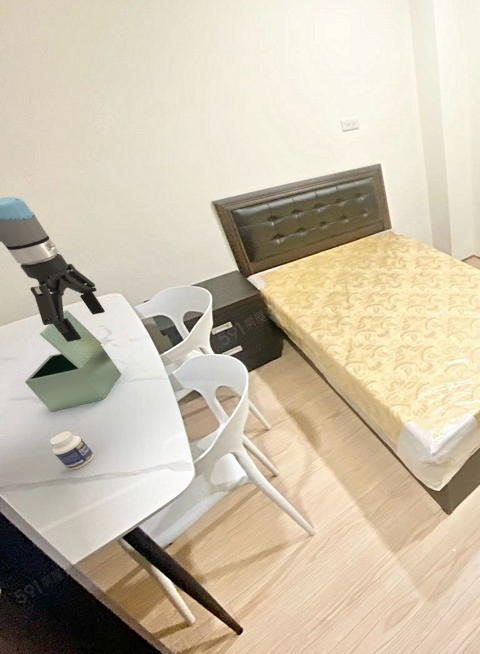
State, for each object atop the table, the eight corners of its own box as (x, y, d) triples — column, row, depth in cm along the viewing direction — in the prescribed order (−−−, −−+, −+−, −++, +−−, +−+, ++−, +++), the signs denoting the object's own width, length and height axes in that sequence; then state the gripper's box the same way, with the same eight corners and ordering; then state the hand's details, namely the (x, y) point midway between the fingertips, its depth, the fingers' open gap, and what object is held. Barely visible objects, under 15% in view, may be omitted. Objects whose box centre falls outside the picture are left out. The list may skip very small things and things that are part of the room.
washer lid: (39, 334, 112) (42, 333, 113) (64, 310, 123) (67, 309, 123) (78, 369, 120) (81, 368, 120) (99, 344, 131) (101, 343, 131)
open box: (50, 411, 123) (24, 381, 117) (72, 384, 134) (49, 355, 127) (103, 399, 127) (81, 369, 121) (121, 373, 137) (101, 344, 131)
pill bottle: (93, 462, 107) (72, 438, 102) (66, 474, 104) (43, 450, 99) (95, 448, 111) (75, 425, 106) (69, 460, 108) (47, 436, 103)
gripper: (28, 278, 91) (80, 349, 102) (83, 237, 112) (122, 300, 122) (-15, 285, 89) (44, 356, 100) (49, 242, 109) (92, 305, 120)
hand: (87, 325), depth 111 cm, fingers open, 13 cm apart
